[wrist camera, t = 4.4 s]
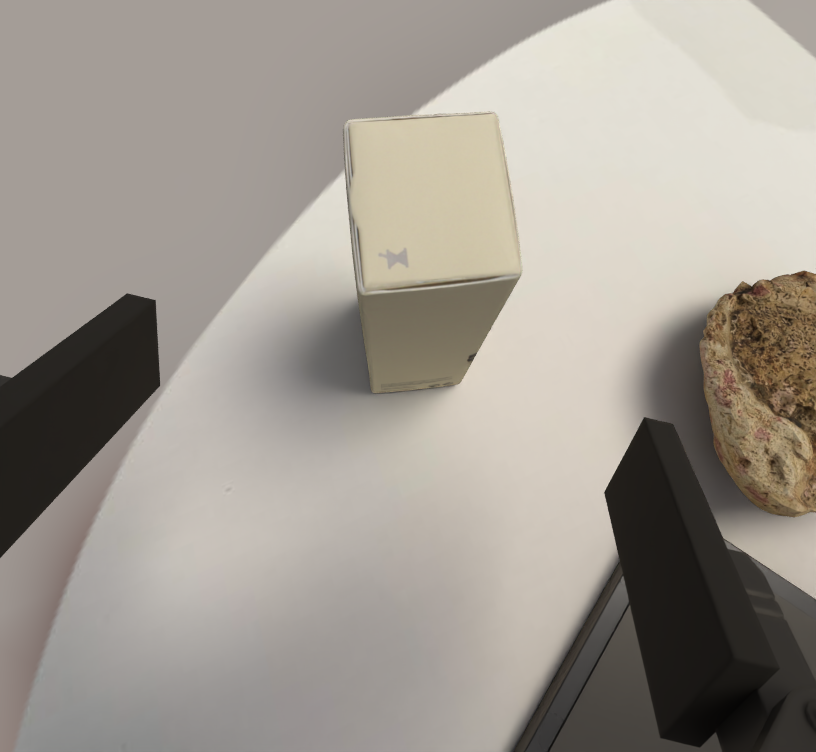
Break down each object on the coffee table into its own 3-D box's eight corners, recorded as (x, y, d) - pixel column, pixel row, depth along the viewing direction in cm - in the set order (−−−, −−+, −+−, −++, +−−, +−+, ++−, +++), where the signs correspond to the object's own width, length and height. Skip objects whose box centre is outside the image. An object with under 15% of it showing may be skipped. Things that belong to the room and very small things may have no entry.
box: (462, 386, 27) (532, 289, 14) (368, 395, 26) (355, 304, 14) (448, 280, 28) (503, 102, 15) (358, 288, 27) (338, 112, 15)
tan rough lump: (772, 310, 31) (644, 277, 27) (930, 249, 25) (799, 194, 21) (825, 520, 28) (689, 522, 23) (1021, 507, 22) (889, 506, 18)
